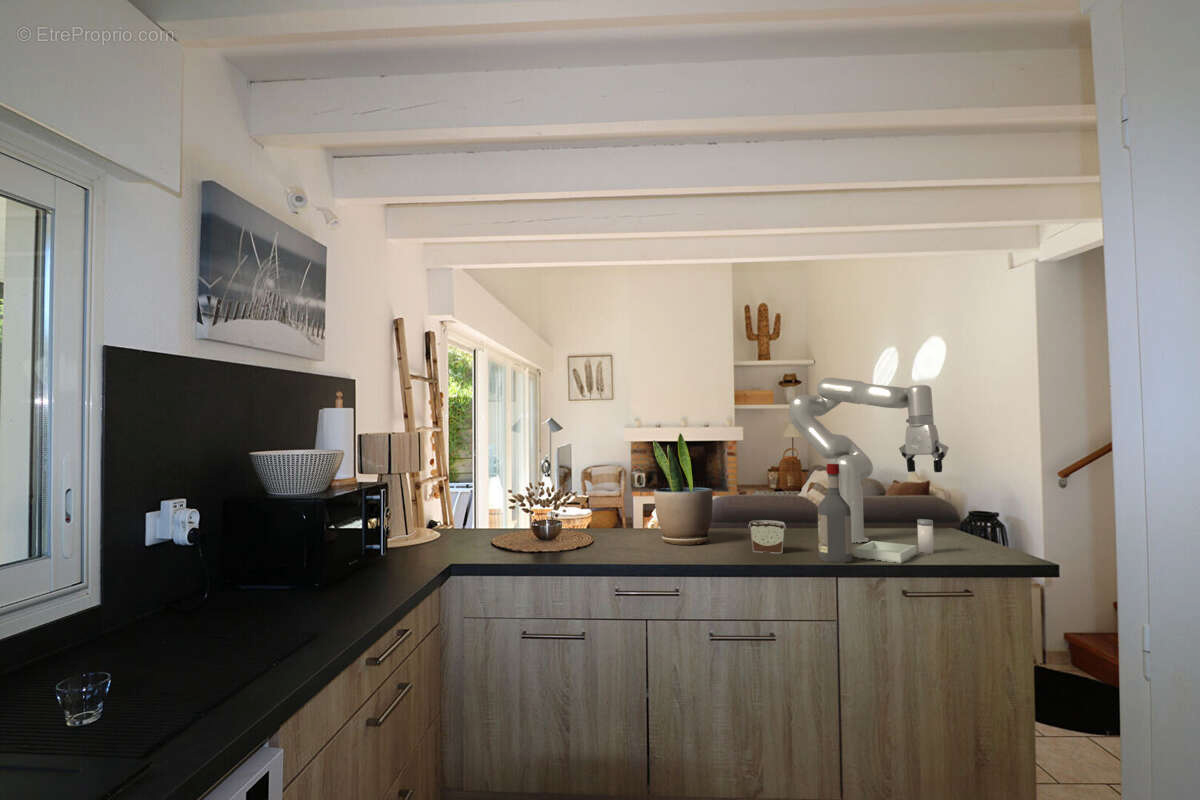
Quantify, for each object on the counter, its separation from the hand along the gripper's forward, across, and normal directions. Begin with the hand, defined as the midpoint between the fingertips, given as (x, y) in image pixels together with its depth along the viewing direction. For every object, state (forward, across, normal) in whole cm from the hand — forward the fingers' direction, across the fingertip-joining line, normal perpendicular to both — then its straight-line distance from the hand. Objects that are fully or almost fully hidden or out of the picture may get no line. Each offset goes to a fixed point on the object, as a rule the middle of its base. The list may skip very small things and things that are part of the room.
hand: (924, 471), depth 212 cm
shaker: (+26, 0, -2) cm, 27 cm away
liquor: (+26, -5, -39) cm, 48 cm away
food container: (+26, -27, -46) cm, 60 cm away
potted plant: (+24, -56, -60) cm, 86 cm away
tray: (+26, -2, -20) cm, 33 cm away
